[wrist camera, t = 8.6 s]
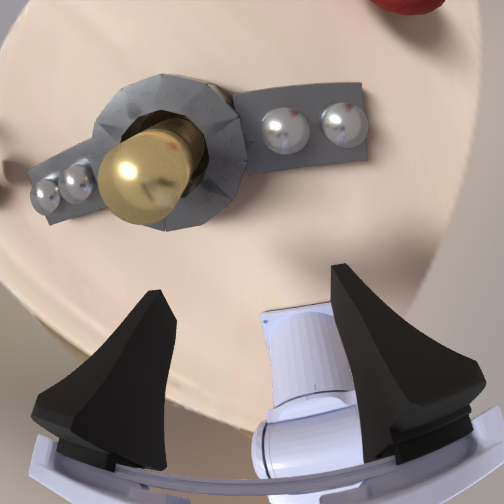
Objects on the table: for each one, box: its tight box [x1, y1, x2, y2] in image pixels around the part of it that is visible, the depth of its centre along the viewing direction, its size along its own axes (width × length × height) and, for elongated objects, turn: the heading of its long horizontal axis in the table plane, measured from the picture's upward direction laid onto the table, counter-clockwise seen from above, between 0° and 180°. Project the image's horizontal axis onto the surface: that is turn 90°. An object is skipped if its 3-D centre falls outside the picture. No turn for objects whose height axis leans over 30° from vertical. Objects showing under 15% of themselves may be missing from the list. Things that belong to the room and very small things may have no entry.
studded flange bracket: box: [27, 74, 369, 232], centre depth 15 cm, size 9×24×3 cm, turn 100°
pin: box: [98, 118, 204, 225], centre depth 14 cm, size 4×4×7 cm
